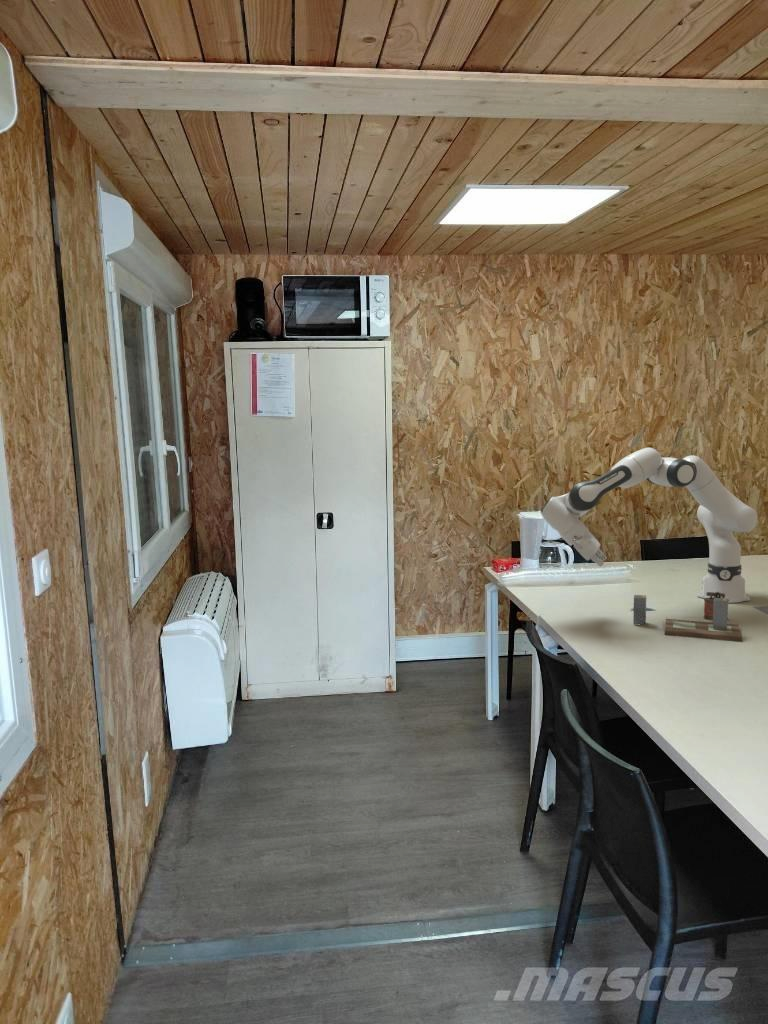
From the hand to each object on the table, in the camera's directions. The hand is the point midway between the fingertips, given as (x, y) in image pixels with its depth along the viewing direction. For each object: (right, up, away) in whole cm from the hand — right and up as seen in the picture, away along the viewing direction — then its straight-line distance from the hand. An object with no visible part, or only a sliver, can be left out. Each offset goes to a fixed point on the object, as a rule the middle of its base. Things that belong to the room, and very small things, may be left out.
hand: (603, 562), depth 239 cm
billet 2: (+34, -21, -16) cm, 43 cm away
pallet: (+29, -23, -13) cm, 39 cm away
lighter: (+41, -21, 0) cm, 46 cm away
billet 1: (+12, -22, -2) cm, 25 cm away
